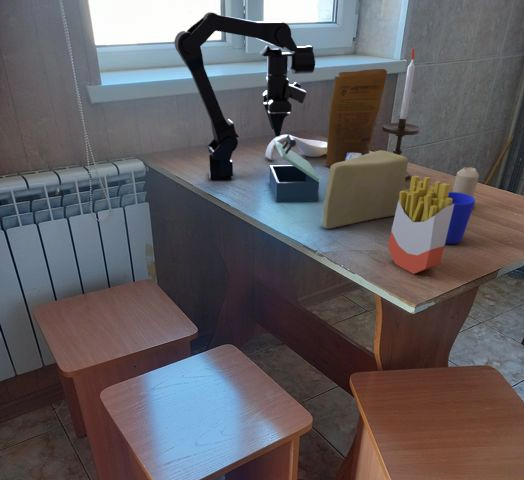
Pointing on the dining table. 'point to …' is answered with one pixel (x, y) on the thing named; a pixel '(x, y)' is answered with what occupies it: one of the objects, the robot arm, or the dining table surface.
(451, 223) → the mug
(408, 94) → the candlestick
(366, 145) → the pancake mix bag
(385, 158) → the cheese
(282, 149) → the lunchbox lid
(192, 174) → the dining table surface
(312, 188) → the lunchbox
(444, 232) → the french fries container
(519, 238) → the dining table surface
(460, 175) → the candle
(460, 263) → the dining table surface
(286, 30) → the robot arm
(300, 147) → the spoon rest
